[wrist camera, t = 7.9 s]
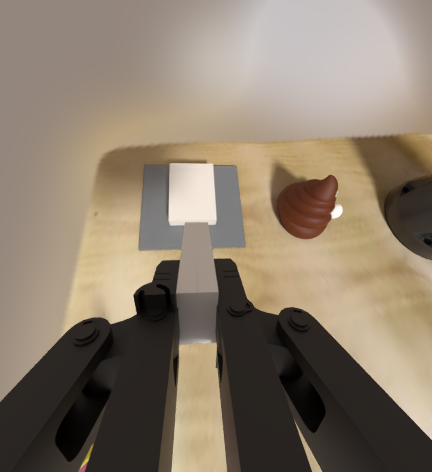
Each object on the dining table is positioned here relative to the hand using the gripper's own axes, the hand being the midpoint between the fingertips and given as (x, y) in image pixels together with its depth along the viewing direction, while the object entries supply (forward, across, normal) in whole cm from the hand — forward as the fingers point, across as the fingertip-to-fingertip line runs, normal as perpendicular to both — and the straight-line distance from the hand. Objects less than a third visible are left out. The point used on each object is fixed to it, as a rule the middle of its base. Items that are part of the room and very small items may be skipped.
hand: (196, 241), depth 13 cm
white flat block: (+16, 0, +5) cm, 17 cm away
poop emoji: (+19, -18, +5) cm, 27 cm away
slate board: (+20, +1, +4) cm, 20 cm away
